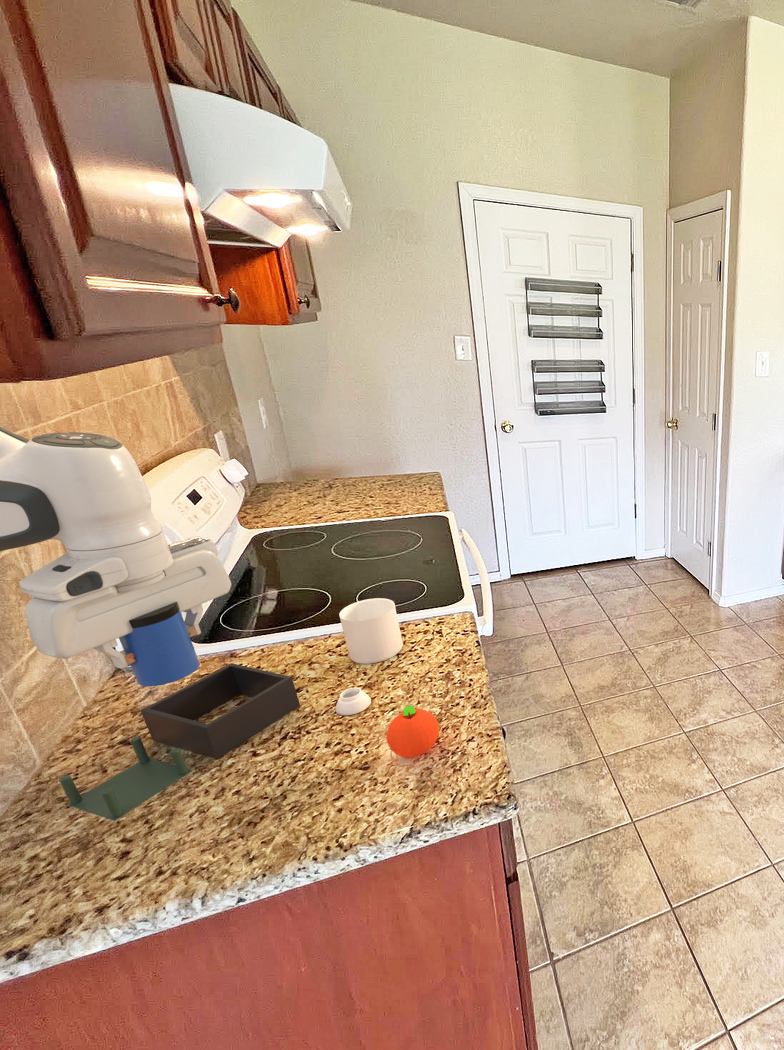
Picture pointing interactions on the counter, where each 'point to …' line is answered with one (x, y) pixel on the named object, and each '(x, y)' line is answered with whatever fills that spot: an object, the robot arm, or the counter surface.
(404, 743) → the clementine
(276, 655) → the counter surface
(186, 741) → the dark brown open bin
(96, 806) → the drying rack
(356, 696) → the small white bowl
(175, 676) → the travel mug
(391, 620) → the mug
